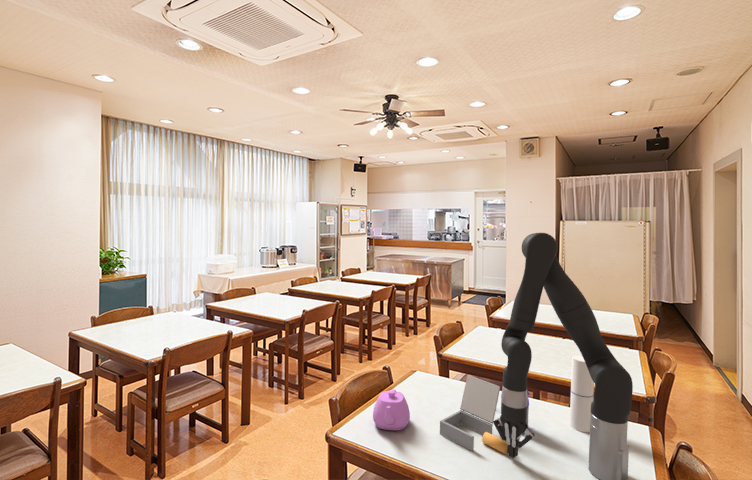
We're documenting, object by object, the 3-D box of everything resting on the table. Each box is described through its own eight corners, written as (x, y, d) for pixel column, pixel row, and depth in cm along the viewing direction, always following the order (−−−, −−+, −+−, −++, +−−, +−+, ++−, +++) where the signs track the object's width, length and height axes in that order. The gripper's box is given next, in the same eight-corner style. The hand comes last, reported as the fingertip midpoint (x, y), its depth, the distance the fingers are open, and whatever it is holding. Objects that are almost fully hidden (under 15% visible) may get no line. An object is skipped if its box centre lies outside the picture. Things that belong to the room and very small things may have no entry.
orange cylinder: (506, 456, 119) (511, 446, 120) (503, 450, 117) (508, 440, 119) (484, 445, 125) (489, 436, 126) (480, 438, 123) (486, 429, 125)
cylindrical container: (569, 428, 134) (572, 359, 133) (569, 419, 140) (572, 353, 139) (592, 434, 131) (595, 363, 130) (591, 424, 137) (594, 357, 136)
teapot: (376, 410, 146) (376, 380, 145) (410, 412, 144) (411, 382, 143) (368, 438, 126) (368, 404, 125) (407, 442, 124) (408, 407, 124)
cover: (491, 423, 127) (493, 423, 128) (499, 386, 130) (501, 386, 130) (459, 409, 137) (461, 409, 138) (467, 374, 139) (469, 375, 140)
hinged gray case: (492, 437, 128) (492, 424, 128) (471, 451, 120) (472, 437, 120) (460, 422, 137) (460, 410, 137) (439, 433, 130) (439, 421, 129)
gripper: (541, 405, 112) (539, 462, 113) (500, 390, 122) (499, 442, 123) (529, 413, 107) (527, 472, 108) (488, 397, 117) (486, 451, 118)
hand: (512, 456), depth 116 cm, fingers closed
